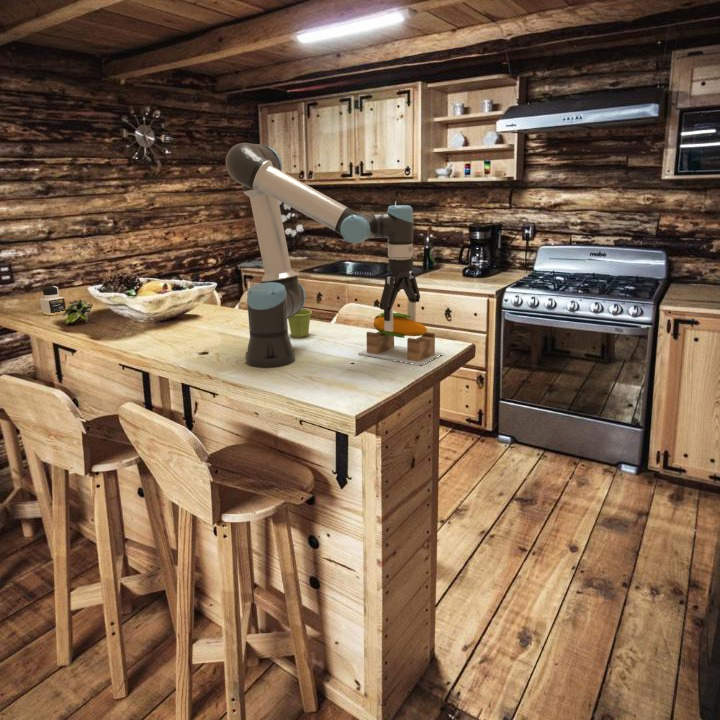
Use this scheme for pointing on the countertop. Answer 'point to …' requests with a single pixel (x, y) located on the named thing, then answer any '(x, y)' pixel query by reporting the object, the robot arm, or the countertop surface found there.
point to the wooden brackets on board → (415, 347)
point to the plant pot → (300, 323)
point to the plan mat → (399, 355)
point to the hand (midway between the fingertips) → (400, 326)
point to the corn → (400, 326)
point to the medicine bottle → (52, 300)
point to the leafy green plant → (77, 311)
